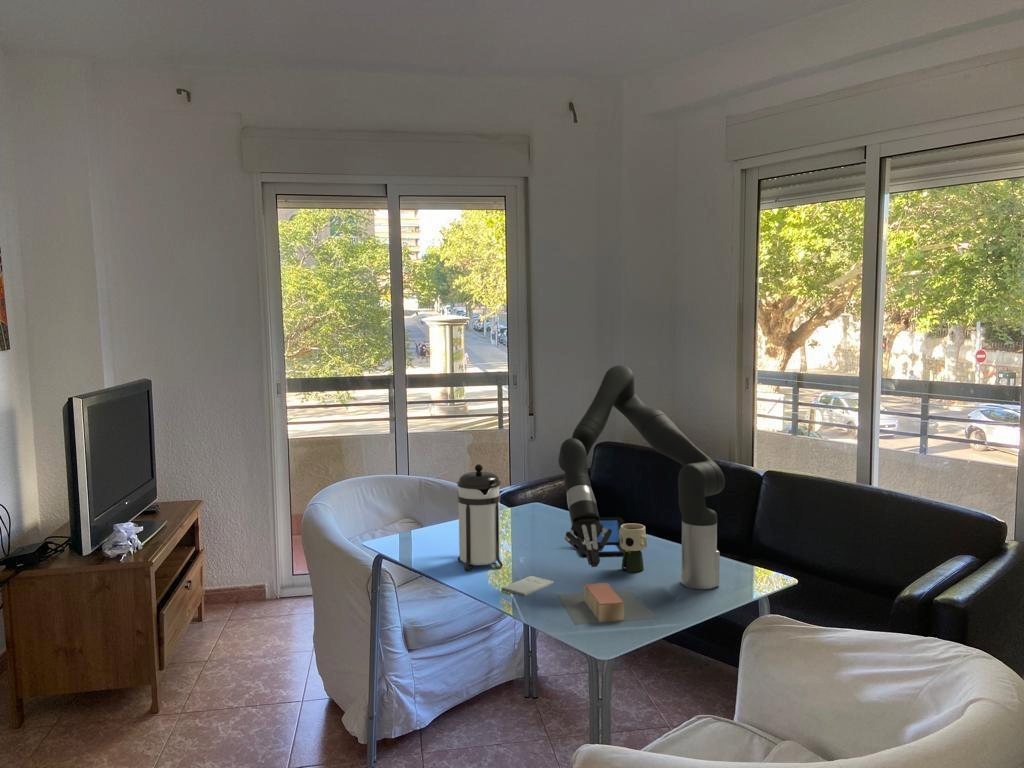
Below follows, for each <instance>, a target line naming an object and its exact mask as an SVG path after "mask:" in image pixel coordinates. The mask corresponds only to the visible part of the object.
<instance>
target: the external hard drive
mask: <svg viewBox="0 0 1024 768" xmlns="http://www.w3.org/2000/svg"><path fill="white" fill-rule="evenodd" d="M554 583H555V582H554V581H553V580H549V579H547V578H546V579H545V578H543V577H542V578H541V577H539V576H534V575H529V576H527V577H525V578H522V579H519V580H517V581H515V582H512V583H510V584H506V585H505V586H502V587H501V590H502V591H501V592H503V591H506V592H509V593H508V594H510V593H512V594H511V595H514V594H517V595H521V596H524V597H527V596H529V595H530V594H533V593H535V592H537V591H540V590H542V589H544V588H546V587H549V586H551V585H553V584H554ZM506 592H505V593H506ZM513 593H514V594H513Z"/></svg>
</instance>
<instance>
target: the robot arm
mask: <svg viewBox="0 0 1024 768" xmlns="http://www.w3.org/2000/svg"><path fill="white" fill-rule="evenodd" d="M634 376H635V375H634V372H633V371H632V370H631V368H629V367H628V366H625V365H615V366H612V367H610V368H608V370H607V371H606V372H605V373H604V376H603V378H602V381H601V382H600V383H601V384H600V386H599V388H598V390H597V392H596V394H595V396H594V397H593V400H592V402H591V404H590V405H589V407H588V408H587V410H586V412H585V414H584V415H583V416H582V418H581V419H580V421H579V423H578V424H577V425H576V427H575V428H574V429H573V433H572V436H571V437H570V438H567V439H566V440H564V441H563V442H562V444H561V445H560V447H559V448H560V449H559V455H558V460H557V461H558V465H559V468H560V469H561V470H562V471H563V472H564V478H563V479H564V489H565V492H566V500H567V501H566V503H567V507H568V508H567V509H568V512H569V517H570V523H571V527H570V530H569V531H566V533H565V535H564V540H565V541H566V542H568V544H570V545H571V546H572V547H573V548H574V549H575V551H577V552H578V553H579V554H580V553H581V552H584V553H586V555H587V557H586V559H587V564H588V565H589V566H590V567H591V568H597V567H598V566H599V565H600V562H601V559H600V557H599V553H598V552H599V551H602V550H603V548H604V546H605V544H606V543H607V541H608V539H609V538H610V536H611V533H612V530H611V529H608V530H607V529H605V528H603V525H602V523H601V522H600V519H599V518H600V515H599V511H598V506H597V500H596V497H595V494H594V492H593V489H592V484H591V480H590V479H591V478H590V476H589V475H590V474H589V471H588V469H589V468H588V467H589V466H588V456H589V455H590V451H591V450H592V448H593V446H594V444H595V443H597V441H598V439H599V438H600V436H601V434H602V433H603V431H604V430H605V427H606V425H607V423H608V420H609V418H610V417H609V416H610V414H611V411H612V409H613V408H615V409H616V410H617V411H619V412H620V413H621V414H622V415H623V416H624V417H625V418H626V419H627V420H628V421H629V422H630V423H631V425H632V426H633V427H634V428H635V429H636V430H637V432H638V433H639V434H640V435H641V437H642V438H643V439H644V440H645V441H646V443H648V444H649V446H650V447H651V448H652V449H654V450H655V451H657V452H658V453H660V454H662V455H664V456H665V457H668V458H669V459H672V460H674V461H675V462H677V463H679V464H680V465H681V466H682V467H681V469H680V470H679V472H678V479H677V488H678V508H679V512H680V515H681V569H680V570H681V575H680V576H681V578H680V579H681V584H682V585H683V587H686V588H688V589H689V588H690V589H693V590H711V589H713V588H716V587H720V565H721V563H720V562H721V560H720V559H721V557H720V555H721V554H720V553H721V552H720V551H719V550H718V547H717V546H718V514H717V512H716V511H715V510H714V509H711V508H709V507H707V506H706V497H710V496H714V495H717V494H719V493H721V492H722V491H723V490H724V488H725V486H726V478H725V475H724V473H723V471H722V469H721V467H720V466H719V465H718V464H717V462H715V461H714V460H712V459H711V458H710V457H709V456H708V455H707V454H705V453H704V452H703V451H702V450H701V449H700V448H698V447H697V446H696V445H695V444H694V443H693V441H691V440H690V439H689V438H688V437H687V435H685V434H684V433H683V431H681V430H680V429H679V427H678V426H677V425H676V424H675V423H674V422H673V421H672V420H671V419H670V418H669V417H668V415H666V414H665V413H664V411H662V410H659V409H658V408H654V407H649V406H647V405H646V404H645V403H643V401H642V400H641V399H640V398H639V396H638V395H637V394H636V391H635V377H634ZM601 532H602V537H603V539H602V541H601V542H600V544H599V545H597V539H598V537H599V535H600V533H601ZM577 538H578V539H579V540H581V541H582V543H581V542H580V541H579V540H578V539H577Z"/></svg>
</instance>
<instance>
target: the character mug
mask: <svg viewBox="0 0 1024 768" xmlns="http://www.w3.org/2000/svg"><path fill="white" fill-rule="evenodd" d="M619 539H620V546H621V548H622V549H624V550H625V551H624V553H623V556H622V559H621V560H622V561H621V570H622V571H624V570H625V572H626V573H638V572H641V571H643V570H644V568H645V567H644V557H643V552H642V550H644V549H645V548H647V547H648V538H647V536H646V526H645V525H643V524H641V523H623V525H621V526H620V530H619Z"/></svg>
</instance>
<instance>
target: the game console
mask: <svg viewBox="0 0 1024 768" xmlns="http://www.w3.org/2000/svg"><path fill="white" fill-rule="evenodd" d="M599 519H600V522H601V523H602V525H603V528H605V529H607V530H608V529H611V530H612V533H611V536H610V538H609V539H608V541H607V543H606V544H605V546H604V548H603V550H602V551H599V552H598V553H599V558H600V557H601V556H602V557H623V553H624V551H625V550H624V549H622V548H621V546H620V539H619V530H620V526H621V525H623V524H624V519H623V518H622V517H618V516H617V517H616V516H615V517H611V516H610V517H599ZM576 538H577V537H576ZM577 539H578V538H577ZM602 539H603V537H602V532H601V533H600V535H599V537H598V539H597V545H599V544H600V542H601V541H602ZM578 540H579V539H578ZM579 541H580V542H581V543H582V541H581V540H579ZM579 554H580V555H581V556H582V557H583V558H584V557H586V558H587V555H586V553H584V552H581V553H580V552H579Z"/></svg>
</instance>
